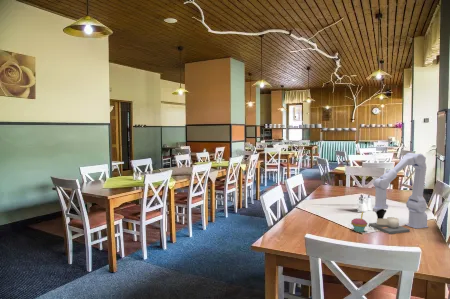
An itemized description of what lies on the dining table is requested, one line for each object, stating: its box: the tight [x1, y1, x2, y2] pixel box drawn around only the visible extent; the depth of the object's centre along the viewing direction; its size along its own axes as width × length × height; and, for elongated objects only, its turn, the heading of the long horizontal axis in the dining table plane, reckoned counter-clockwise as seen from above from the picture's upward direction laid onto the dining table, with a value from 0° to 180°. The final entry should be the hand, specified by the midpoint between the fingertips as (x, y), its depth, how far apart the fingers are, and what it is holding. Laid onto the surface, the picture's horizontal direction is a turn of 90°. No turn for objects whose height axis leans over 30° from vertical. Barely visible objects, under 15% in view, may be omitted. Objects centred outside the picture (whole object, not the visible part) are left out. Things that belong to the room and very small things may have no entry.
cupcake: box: [350, 211, 368, 233], centre depth 180 cm, size 9×8×12 cm
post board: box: [368, 222, 411, 235], centre depth 184 cm, size 14×16×2 cm
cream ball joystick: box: [376, 216, 400, 227], centre depth 183 cm, size 12×6×4 cm, turn 83°
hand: (380, 221), depth 185 cm, fingers closed
